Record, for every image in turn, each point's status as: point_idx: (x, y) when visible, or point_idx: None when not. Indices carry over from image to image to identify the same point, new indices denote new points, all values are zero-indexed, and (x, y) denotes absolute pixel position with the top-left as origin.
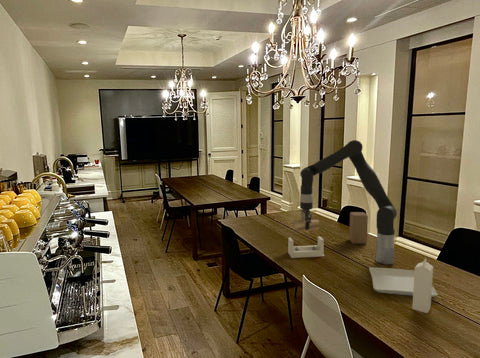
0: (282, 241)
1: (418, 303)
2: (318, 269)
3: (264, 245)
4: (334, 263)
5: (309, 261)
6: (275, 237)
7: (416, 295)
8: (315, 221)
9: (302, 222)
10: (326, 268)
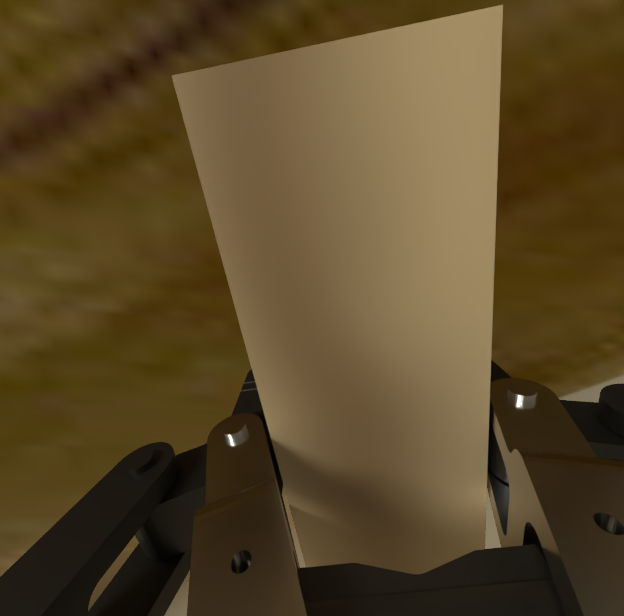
0: (96, 391)
1: None
2: (607, 218)
3: None
4: (532, 68)
5: None
6: (26, 426)
7: None
8: (491, 197)
9: (478, 531)
10: (607, 157)
